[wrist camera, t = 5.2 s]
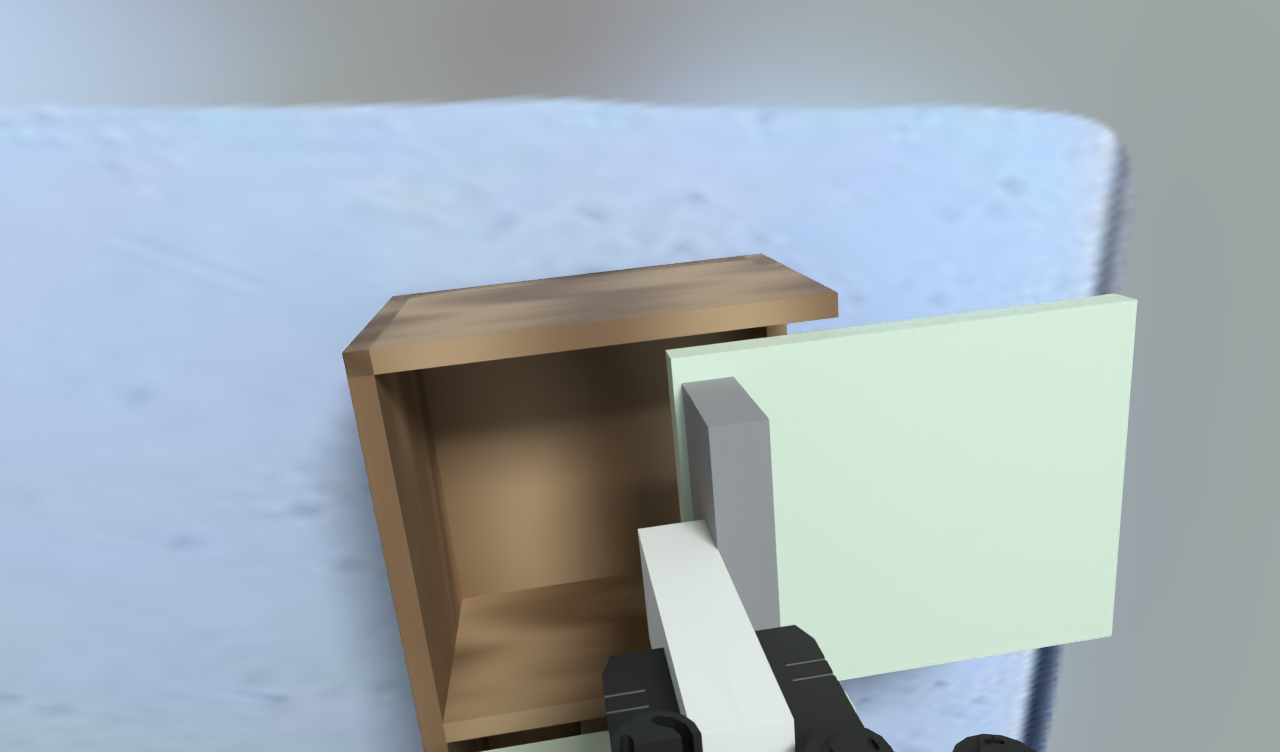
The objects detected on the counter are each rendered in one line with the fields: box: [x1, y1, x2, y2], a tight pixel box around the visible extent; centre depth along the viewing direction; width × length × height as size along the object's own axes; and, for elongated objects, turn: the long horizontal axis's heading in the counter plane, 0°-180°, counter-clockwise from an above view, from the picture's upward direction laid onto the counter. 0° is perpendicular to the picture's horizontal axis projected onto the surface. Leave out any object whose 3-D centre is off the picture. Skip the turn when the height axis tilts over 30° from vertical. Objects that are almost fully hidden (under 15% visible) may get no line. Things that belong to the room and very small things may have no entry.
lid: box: [665, 294, 1137, 681], centre depth 19 cm, size 11×9×4 cm
